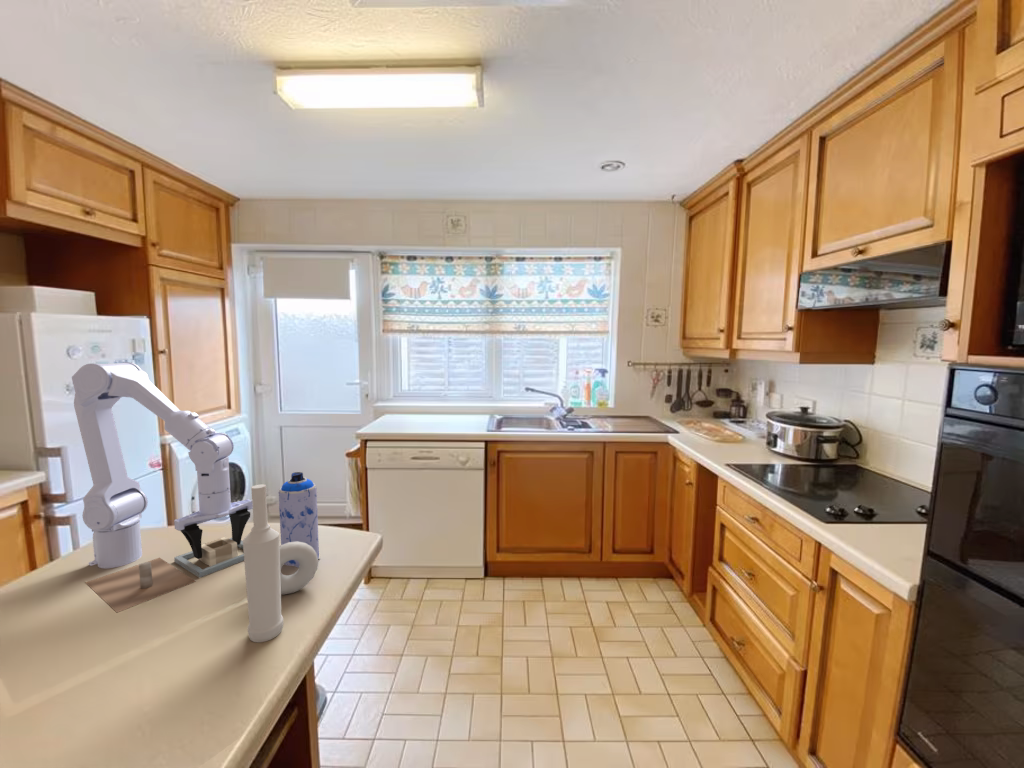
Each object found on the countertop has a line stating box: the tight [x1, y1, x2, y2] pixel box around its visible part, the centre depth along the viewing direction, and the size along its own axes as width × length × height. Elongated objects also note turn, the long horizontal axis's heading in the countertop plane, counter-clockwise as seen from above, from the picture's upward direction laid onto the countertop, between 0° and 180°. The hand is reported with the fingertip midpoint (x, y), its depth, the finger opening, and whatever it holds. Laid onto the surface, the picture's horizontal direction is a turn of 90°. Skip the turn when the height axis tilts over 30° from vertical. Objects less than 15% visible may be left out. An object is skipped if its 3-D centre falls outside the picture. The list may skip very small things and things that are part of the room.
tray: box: [173, 537, 244, 579], centre depth 95 cm, size 12×12×2 cm
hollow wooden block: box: [198, 536, 239, 567], centre depth 95 cm, size 5×5×4 cm
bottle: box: [242, 483, 284, 643], centre depth 70 cm, size 5×5×25 cm
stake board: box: [84, 557, 197, 613], centre depth 85 cm, size 18×12×6 cm, turn 57°
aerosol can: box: [278, 471, 320, 569], centre depth 95 cm, size 8×8×20 cm
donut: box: [280, 541, 319, 595], centre depth 83 cm, size 10×4×10 cm, turn 127°
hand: (217, 550), depth 95 cm, fingers open, 7 cm apart
